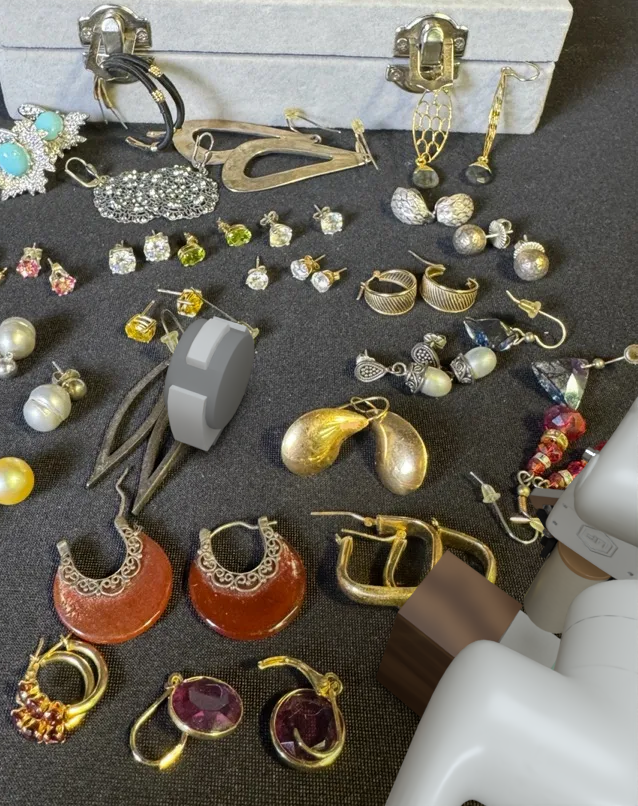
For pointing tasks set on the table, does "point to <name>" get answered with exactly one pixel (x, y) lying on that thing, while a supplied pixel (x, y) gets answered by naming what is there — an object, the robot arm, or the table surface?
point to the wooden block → (441, 628)
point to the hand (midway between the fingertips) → (577, 567)
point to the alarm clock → (207, 379)
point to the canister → (559, 587)
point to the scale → (531, 641)
